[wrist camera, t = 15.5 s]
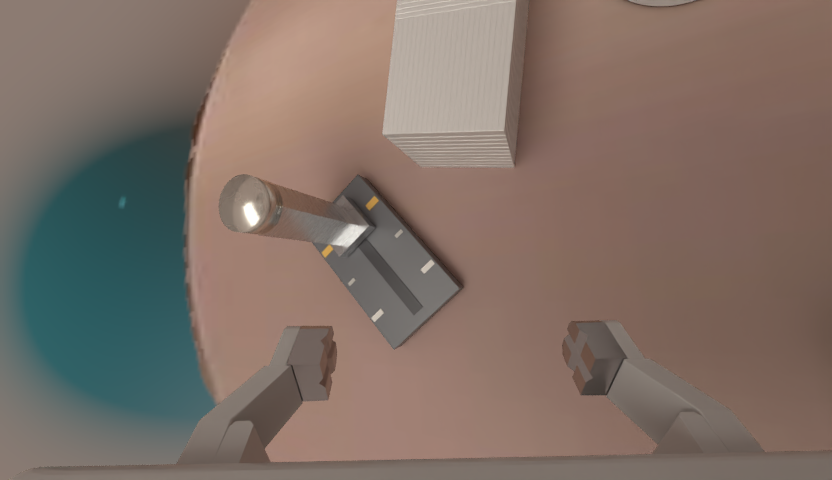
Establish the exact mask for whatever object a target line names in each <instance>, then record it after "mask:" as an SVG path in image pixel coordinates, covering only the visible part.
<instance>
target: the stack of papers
mask: <svg viewBox="0 0 832 480" xmlns="http://www.w3.org/2000/svg"><path fill="white" fill-rule="evenodd" d="M528 11H529V0H397V6H396V15H395V24H394V33H393V42H392V51H391V60H390V69H389V78H388V88H387V97H386V106H385V115H384V124H383V133H382V135H384V136H385V137H386V138H388V140H389V141H391V142H392V143H393V144H394V145H396V147H398V148H400V150H401V151H403V153H405V154H407V156H408V157H410V159H412V160H413V161H414V162H415V163H416V164H418V165H419V166H420V167H447V168H514V167H515V155H516V144H517V133H518V122H519V111H520V100H521V89H522V78H523V66H524V55H525V44H526V33H527V22H528Z"/></svg>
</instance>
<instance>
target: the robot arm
mask: <svg viewBox="0 0 832 480" xmlns="http://www.w3.org/2000/svg"><path fill="white" fill-rule="evenodd" d="M628 1H631V2H634V3H637V4H642V5H648V6H672V5H679V4H684V3H689V2H692V1H696V0H628ZM567 330H568V332H569V335H568V336H567V337H565V338H564V341H563V345H562V346H563V356H564V360H565V362H566V364H567V366H568V367H569V368H570V369H572V370H573V371H574V375H573V380H574V382H575V384H576V386H577V388H578V390H579V393H580V395H607V398H608V399H609V400H611V401H612V402H613V403H614V404H615V405H616V406H617V407H618V408H619V409H620V410H621V411H622V412H623V413H625V414H626V415H627V416H628V417H629V418H630V419H631V420H632V421H633V422H634V423H635V424H636V425H638V426H639V427H640V428H641V429H642V430H643V431H644V432H645V433H646V434H647V435H648V436H649V437H650V438H652V439H653V440H654V441H655V442H656V443H657V444H658V446H657V447H656V449H655V450H654V452H653V453H652V454H637V455H590V456H544V457H497V458H452V459H406V460H359V461H312V462H270V460H269V458H268V455H267V453H266V451H265V447H266V446H267V445H268V444H269V443H270V441H271V440H272V439H273V438H274V437H275V435H276V434H277V433H278V432H279V431H280V429H281V428H282V427H283V426H284V425H285V423H286V422H287V421H288V420H289V419H290V417H291V416H292V415H293V414H294V413H295V411H296V410H297V409H298V408H299V407H300V405H301V404H302V401H322V400H328V399H329V395H330V390H331V386H332V378H331V374H332V373H333V372H334V371H335V367H336V360H337V347H336V342H334V341H333V340H332V339H333V335H334V332H333V328H332V326H287V327H286V328H285V329H284V331H283V333H282V336H281V338H280V341H279V343H278V345H277V348H276V350H275V353H274V355H273V358H272V360H271V362H270V365H269V366H264V367H263V368H262V369H260V370H259V371H258V372H257V373H256V374H254V375H253V376H252V377H251V378H250V379H248V380H247V381H246V382H245V383H244V384H242V385H241V386H240V387H239V388H238V389H236V390H235V391H234V392H233V393H232V394H230V395H229V396H228V397H227V398H226V399H224V400H223V401H222V402H221V403H220V404H218V405H217V406H216V407H215V408H214V409H213V410H211V411H210V412H209V413H208V414H206V415H205V416H204V417H203V418H202V419H200V421H199V422H198V424H197V426H196V428H195V430H194V432H193V434H192V435H191V437H190V439H189V442H188V443H187V445H186V447H185V449H184V451H183V453H182V454H181V456H180V458H179V460H178V462H177V464H167V465H118V466H73V467H72V466H67V467H66V466H63V467H62V466H60V467H39V468H33V469H29V470H26V471H24V472H21V473H19V474H17V475H16V476H14V477H12V478H10V479H8V480H832V450H823V451H777V452H765V451H764V450H763V449H762V447H761V446H760V445H759V444H758V443H757V441H756V440H755V439H754V438H753V437H752V435H751V434H750V433H749V432H748V430H747V429H746V428H745V427H744V426H743V424H742V423H741V422H740V421H739V419H738V418H737V417H736V416H735V415H734V413H733V412H732V411H731V410H730V409H728V408H727V407H725V406H724V405H722V404H720V403H719V402H717V401H716V400H714V399H713V398H711V397H709V396H708V395H706V394H705V393H703V392H702V391H700V390H698V389H697V388H695V387H694V386H692V385H691V384H689V383H687V382H686V381H684V380H683V379H681V378H680V377H678V376H676V375H675V374H673V373H672V372H670V371H669V370H667V369H665V368H664V367H662V366H661V365H659V364H658V363H656V362H654V361H653V360H651V359H645V358H644V356H643V355H642V353H641V352H640V350H639V349H638V348H637V346H636V345H635V343H634V342H633V340H632V339H631V338H630V336H629V335H628V333H627V332H626V331H625V329H624V328H623V326H622V325H621V323H620V322H618V321H617V320H601V321H599V320H597V321H571V322H570V323H569V325H568V328H567Z"/></svg>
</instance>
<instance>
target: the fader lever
mask: <svg viewBox="0 0 832 480" xmlns="http://www.w3.org/2000/svg"><path fill="white" fill-rule="evenodd" d="M219 214H220V218H221V220H222V222H223V224H224V225H225V226H226V227H227V228H228V229H230V230H232V231H235V232H242V233H249V234H258V235H260V236H268V237H276V238H283V239H291V240H299V241H307V242H315V243H323V244H330V245H331V247H332V248H333V249H334V251H335V252H336V253H337V254H338V256H339V257H348V256H349V255H350V254H351V253H352V252H353V251H354V250H355V248H356V247H357V246H358V245H359V244H360V243H361V242H362V241H363V240H364V239H365V238H366V237H367V236H368V235H369V234H370V233H371V232H372V231H373V230H374V229H375V228H376V227H375V226H374V225H373V224H372V223H371V221H370V220H369V219H368V218H367V217H366V215H365V214H364V213H363V212H362V211H361V210H360V208H359V207H358V206H357V205H356V204H355V203H354V201H353V200H352V199H351V198H350V197H347V196H345V195H342V197H341V198H340V199H339V200H338V201H337V202H336V203H332V202H329V201H326V200H323V199H319V198H316V197H313V196H310V195H307V194H304V193H301V192H298V191H295V190H292V189H289V188H286V187H283V186H280V185H276V184H273V183H271V182H268V181H265V180H262V179H259V178H256V177H253V176H250V175H246V174H242V175H238V176H235V177H234V178H232V179H231V180H230V181H229V182H228V183H227V184H226V185H225V187H224V189H223V190H222V193H221V196H220V199H219Z"/></svg>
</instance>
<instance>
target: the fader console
mask: <svg viewBox="0 0 832 480" xmlns="http://www.w3.org/2000/svg"><path fill="white" fill-rule="evenodd" d="M342 195H345V196H347V197H350V198H351V199H352V200H353V201H354V203H355V204H356V205H357V206H358V207H359V208H360V210H361V211H362V212H363V213H364V214H365V215H366V217H367V218H368V219H369V220H370V221H371V223H372V224H373V225H374V226H375V227H376V228H375V229H374V230H373V231H372V232H371V233H370V234H369V235H368V236H367V237H366V238H365V239H364V240H363V241H362V242H361V243H360V244H359V245H358V246H357V247H356V248H355V250H354V251H353V252H352V253H351V254H350V255H349V256H348V257H339V256H338V254H337V253H336V252H335V251H334V249H333V248H332V247H331V245H330V244H323V243H315V242H312V243H313V244H314V246H315V247H316V248H317V250H318V251H319V252H320V254H321V255H322V256H323V258H324V259H325V260H326V261H327V263H328V264H329V265H330V267H331V268H332V269H333V271H334V272H335V273H336V275H337V276H338V277H339V278H340V280H341V281H342V282H343V284H344V285H345V286H346V288H347V289H348V290H349V292H350V293H351V294H352V296H353V297H354V298H355V299H356V301H357V302H358V303H359V305H360V306H361V307H362V309H363V310H364V311H365V313H366V314H367V315H368V317H369V318H370V319H371V320H372V322H373V323H374V324H375V326H376V327H377V328H378V330H379V331H380V332H381V334H382V335H383V336H384V337H385V339H386V340H387V341H388V343H389V344H390V345H391V347H392V348H393V349H396V348H398V347H400V346H401V345H402V344H404V343H405V342H406V341H407V340H408V339H409V338H410V337H411V336H412V335H413V334H414V333H415V332H416V331H418V330H419V329H420V328H421V327H422V326H423V325H424V324H425V323H426V322H427V321H428V320H429V319H430V318H431V317H433V316H434V315H435V314H436V313H437V312H438V311H439V310H440V309H441V308H442V307H443V306H444V305H445V304H447V303H448V302H449V301H450V300H451V299H452V298H453V297H454V296H455V295H456V294H457V293H458V292H459V291H461V290H462V289H463V287H462V285H461V284H460V283H459V282H458V281H457V280H456V279H455V278H454V276H453V275H452V274H451V273H450V272H449V271H448V270H447V269H446V268H445V266H444V265H443V264H442V263H441V262H440V261H439V260H438V259H437V257H436V256H435V255H434V254H433V253H432V252H431V251H430V250H429V249H428V247H427V246H426V245H425V244H424V243H423V242H422V241H421V240H420V238H419V237H418V236H417V235H416V234H415V233H414V232H413V231H412V230H411V228H410V227H409V226H408V225H407V224H406V223H405V222H404V221H403V219H402V218H401V217H400V216H399V215H398V214H397V213H396V212H395V211H394V209H393V208H392V207H391V206H390V205H389V204H388V203H387V202H386V200H385V199H384V198H383V197H382V196H381V195H380V194H379V193H378V192H377V190H376V189H375V188H374V187H373V186H372V185H371V184H370V183H369V181H368V180H367V179H366V178H364V177H362V176H360V175H357V176H356V177H355V178H354V179H353V180H352V182H351V183H350V184H349V185H348V186H347V187H346V188H345V189H344V190H343V192H342V193H341V194H340V195H339V196H338V197H337V198H336V199H335V200H334V201H333V203H336V202H337V201H338V200H339V199H340V198H341V197H342Z"/></svg>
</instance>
